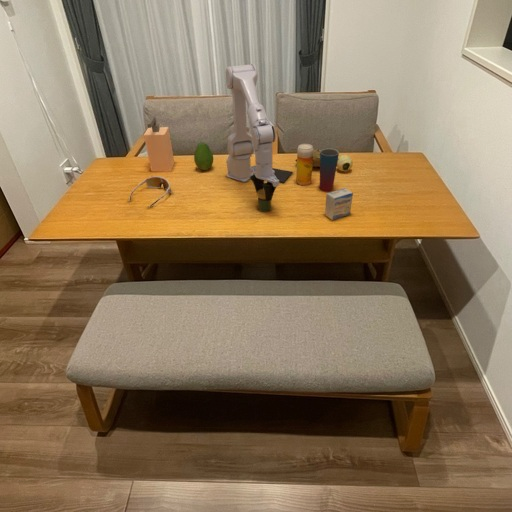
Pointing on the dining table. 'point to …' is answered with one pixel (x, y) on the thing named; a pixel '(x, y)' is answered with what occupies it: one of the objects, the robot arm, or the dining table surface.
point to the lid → (261, 194)
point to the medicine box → (338, 203)
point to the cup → (328, 168)
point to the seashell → (315, 158)
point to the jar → (264, 205)
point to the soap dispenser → (159, 147)
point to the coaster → (282, 175)
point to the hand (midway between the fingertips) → (264, 197)
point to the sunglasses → (155, 185)
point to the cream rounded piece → (344, 163)
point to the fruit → (203, 156)
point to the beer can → (304, 164)
